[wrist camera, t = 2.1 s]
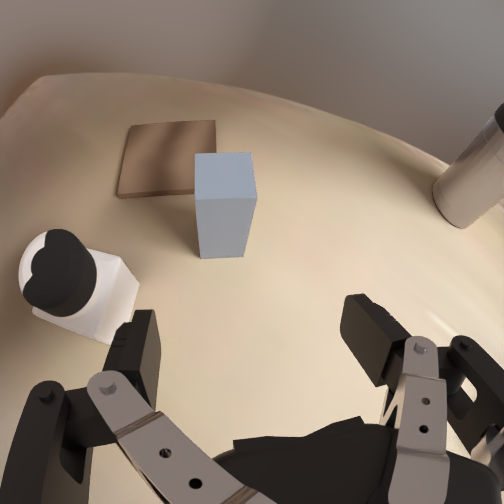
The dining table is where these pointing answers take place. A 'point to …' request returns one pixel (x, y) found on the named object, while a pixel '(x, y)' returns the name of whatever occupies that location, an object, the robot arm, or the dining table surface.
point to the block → (224, 203)
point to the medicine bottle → (77, 285)
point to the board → (164, 158)
